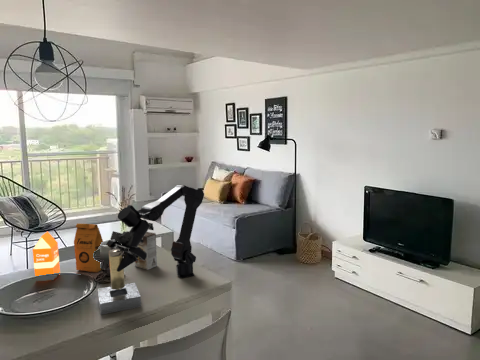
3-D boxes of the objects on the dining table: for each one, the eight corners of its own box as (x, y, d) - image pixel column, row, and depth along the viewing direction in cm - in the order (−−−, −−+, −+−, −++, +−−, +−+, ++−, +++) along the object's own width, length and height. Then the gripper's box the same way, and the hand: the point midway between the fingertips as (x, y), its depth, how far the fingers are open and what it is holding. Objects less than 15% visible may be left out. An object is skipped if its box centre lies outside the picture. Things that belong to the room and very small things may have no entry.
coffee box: (134, 266, 181) (132, 233, 179) (144, 262, 186) (142, 230, 184) (148, 270, 176) (146, 236, 174) (158, 265, 181) (156, 232, 179)
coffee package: (95, 274, 171) (92, 227, 168) (72, 272, 175) (69, 225, 172) (109, 267, 181) (106, 221, 178) (87, 264, 184) (84, 220, 182)
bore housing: (135, 292, 152) (134, 282, 151) (141, 306, 139) (140, 296, 139) (98, 298, 146) (97, 288, 146) (100, 314, 134) (99, 303, 133)
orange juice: (35, 282, 164) (31, 237, 161) (42, 274, 173) (38, 231, 170) (54, 280, 165) (50, 236, 163) (60, 273, 174) (57, 230, 171)
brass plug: (123, 283, 145) (121, 247, 143) (125, 288, 141) (123, 251, 139) (110, 285, 143) (108, 249, 141) (111, 290, 139) (109, 253, 137)
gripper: (108, 219, 148) (84, 254, 141) (138, 226, 136) (113, 264, 129) (127, 234, 155) (105, 268, 148) (157, 241, 143) (134, 279, 136)
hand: (113, 269), depth 140 cm, fingers closed on brass plug, 5 cm apart
